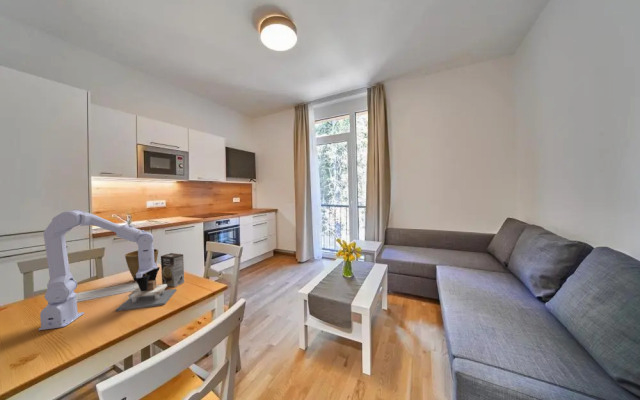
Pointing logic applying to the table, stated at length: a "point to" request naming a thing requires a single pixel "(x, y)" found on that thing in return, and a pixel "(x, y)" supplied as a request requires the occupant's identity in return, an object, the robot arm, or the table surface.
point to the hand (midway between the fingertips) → (148, 287)
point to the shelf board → (148, 290)
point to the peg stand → (147, 300)
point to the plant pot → (136, 261)
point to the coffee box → (172, 269)
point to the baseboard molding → (106, 292)
